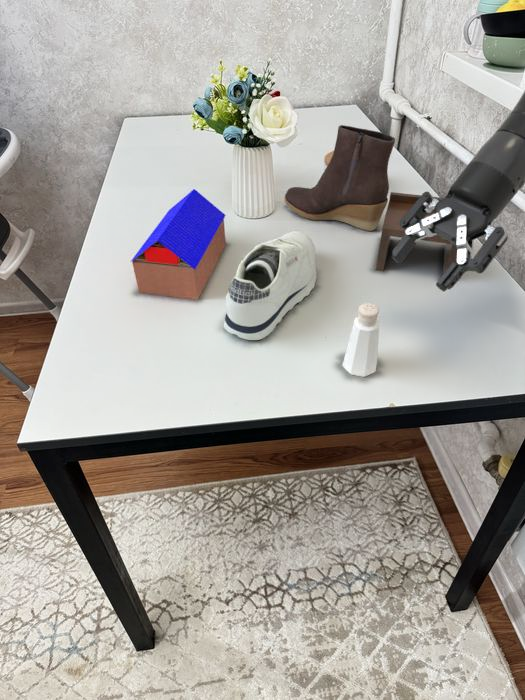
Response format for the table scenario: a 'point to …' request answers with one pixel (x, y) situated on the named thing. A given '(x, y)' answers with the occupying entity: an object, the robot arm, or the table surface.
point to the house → (181, 249)
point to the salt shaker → (363, 342)
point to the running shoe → (270, 285)
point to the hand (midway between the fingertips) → (416, 274)
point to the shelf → (391, 227)
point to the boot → (349, 181)
